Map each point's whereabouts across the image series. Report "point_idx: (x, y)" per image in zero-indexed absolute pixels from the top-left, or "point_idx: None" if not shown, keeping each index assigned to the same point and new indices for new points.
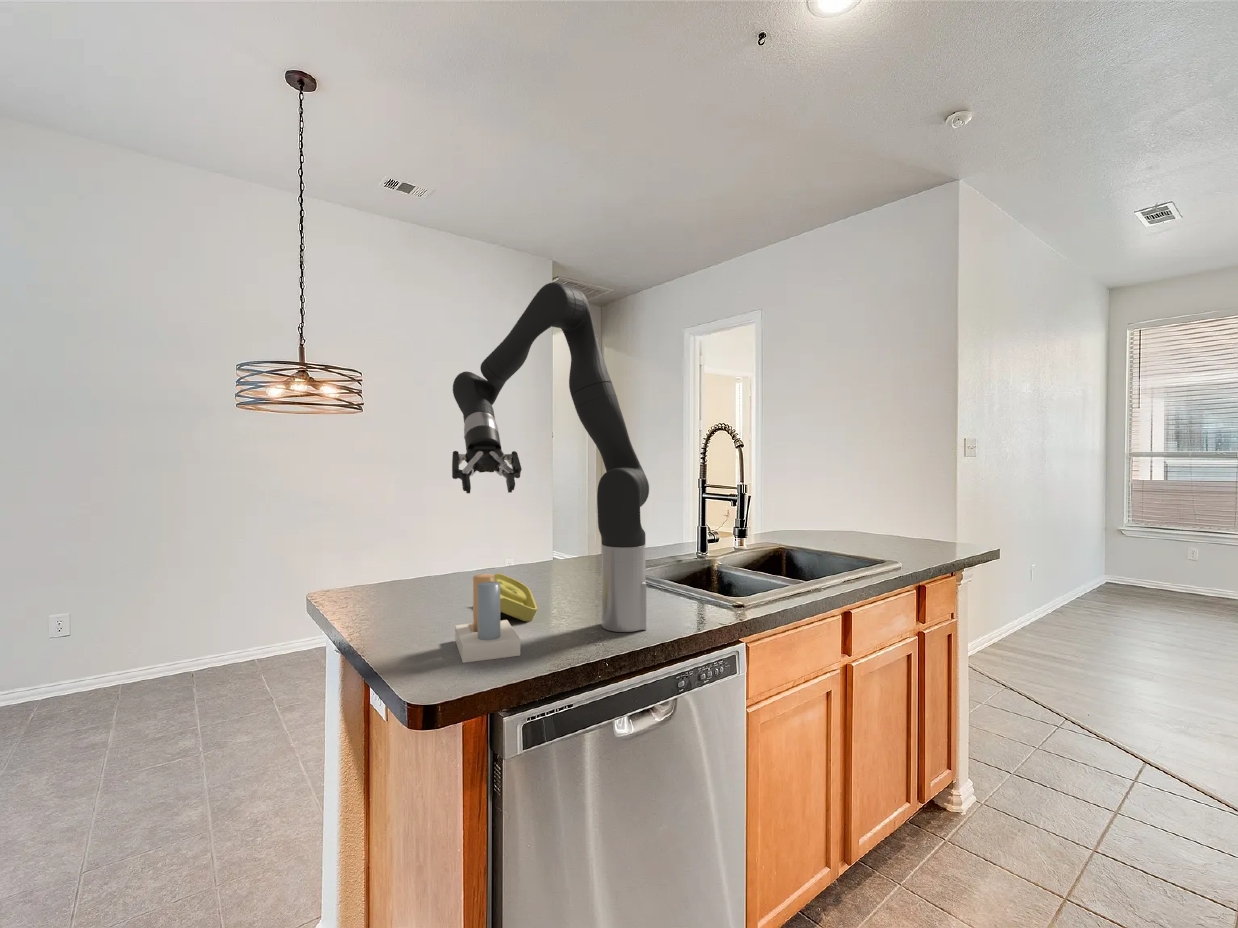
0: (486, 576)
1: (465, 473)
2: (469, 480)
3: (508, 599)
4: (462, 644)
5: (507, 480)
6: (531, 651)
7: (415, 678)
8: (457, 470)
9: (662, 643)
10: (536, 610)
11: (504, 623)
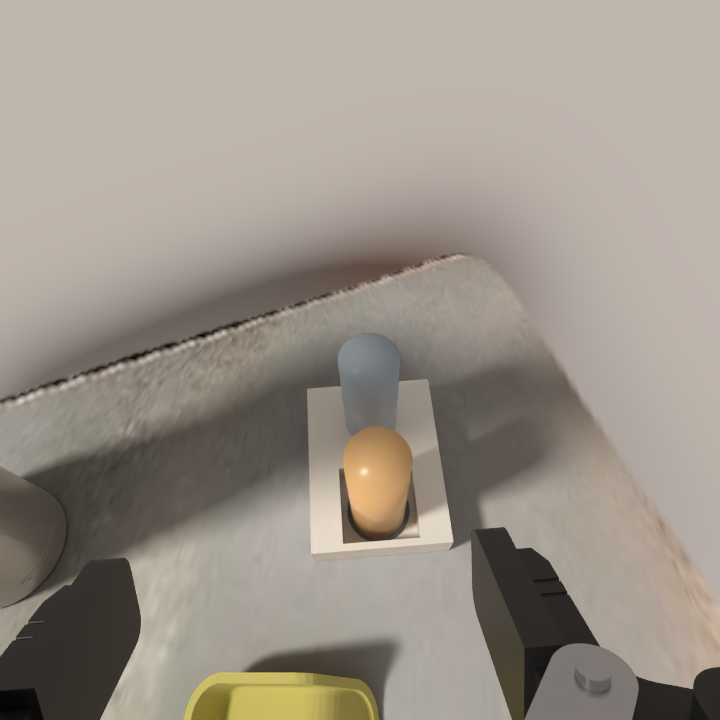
0: (369, 453)
1: (573, 650)
2: (498, 570)
3: (283, 675)
4: (428, 385)
5: (80, 677)
6: (284, 422)
7: (503, 345)
8: (703, 679)
9: (13, 397)
10: (193, 698)
11: (323, 519)
